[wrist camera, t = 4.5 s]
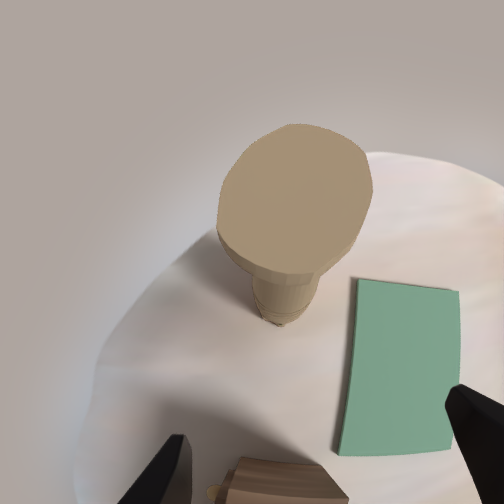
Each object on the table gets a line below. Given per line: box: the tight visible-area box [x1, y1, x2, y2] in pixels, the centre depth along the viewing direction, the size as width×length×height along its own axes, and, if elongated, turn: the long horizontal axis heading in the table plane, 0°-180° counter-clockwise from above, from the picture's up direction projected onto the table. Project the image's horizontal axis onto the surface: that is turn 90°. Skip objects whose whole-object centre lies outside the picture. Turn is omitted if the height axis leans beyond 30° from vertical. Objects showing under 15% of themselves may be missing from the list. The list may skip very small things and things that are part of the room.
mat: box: [337, 279, 460, 456], centre depth 20 cm, size 14×10×1 cm
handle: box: [216, 124, 373, 327], centre depth 17 cm, size 5×6×15 cm
